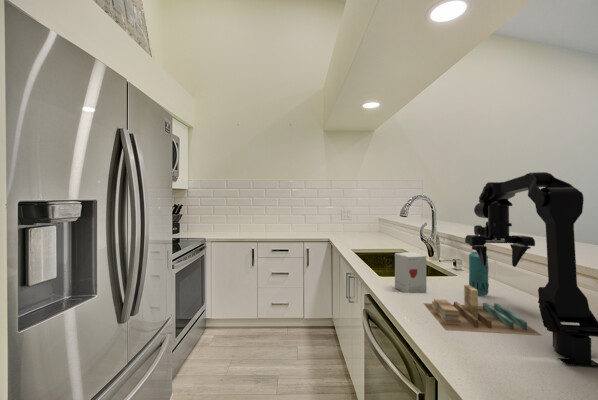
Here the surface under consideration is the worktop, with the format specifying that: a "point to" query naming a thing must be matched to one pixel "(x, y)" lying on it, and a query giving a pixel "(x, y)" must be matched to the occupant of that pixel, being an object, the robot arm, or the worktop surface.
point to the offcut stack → (446, 311)
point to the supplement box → (410, 272)
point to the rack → (487, 320)
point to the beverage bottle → (478, 273)
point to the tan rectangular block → (471, 300)
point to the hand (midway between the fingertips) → (498, 266)
